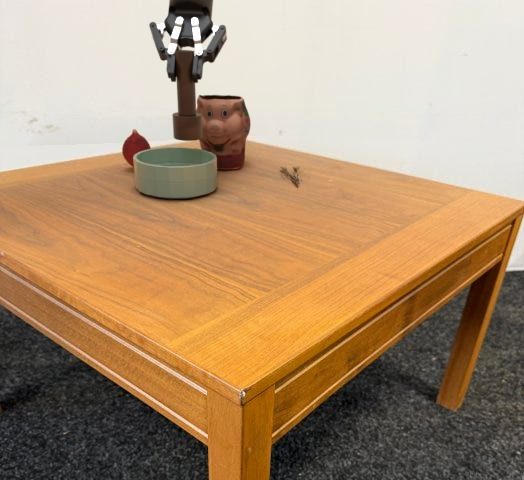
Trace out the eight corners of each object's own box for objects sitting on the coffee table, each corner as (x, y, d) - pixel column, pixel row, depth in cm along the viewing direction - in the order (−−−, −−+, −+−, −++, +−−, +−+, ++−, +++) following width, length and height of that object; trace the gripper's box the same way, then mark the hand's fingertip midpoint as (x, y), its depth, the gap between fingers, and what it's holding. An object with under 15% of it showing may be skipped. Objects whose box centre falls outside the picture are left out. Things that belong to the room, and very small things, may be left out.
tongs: (291, 187, 108) (291, 177, 107) (279, 173, 119) (279, 163, 118) (312, 187, 109) (312, 177, 108) (298, 173, 120) (298, 163, 119)
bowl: (133, 201, 97) (130, 167, 94) (138, 177, 110) (136, 146, 107) (219, 200, 99) (219, 167, 96) (214, 177, 112) (214, 147, 109)
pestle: (173, 140, 98) (169, 51, 90) (173, 134, 102) (169, 49, 94) (202, 141, 98) (200, 52, 91) (201, 134, 103) (199, 49, 95)
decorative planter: (197, 152, 130) (195, 87, 122) (248, 153, 131) (249, 89, 123) (192, 175, 113) (189, 102, 106) (251, 176, 114) (252, 103, 106)
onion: (158, 169, 116) (155, 129, 111) (136, 174, 112) (132, 133, 108) (140, 164, 119) (137, 125, 115) (118, 169, 115) (114, 128, 111)
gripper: (147, -27, 93) (137, 61, 90) (230, -23, 93) (223, 65, 89) (156, 9, 100) (147, 92, 97) (233, 13, 100) (226, 95, 97)
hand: (184, 78), depth 93 cm, fingers closed on pestle, 3 cm apart
